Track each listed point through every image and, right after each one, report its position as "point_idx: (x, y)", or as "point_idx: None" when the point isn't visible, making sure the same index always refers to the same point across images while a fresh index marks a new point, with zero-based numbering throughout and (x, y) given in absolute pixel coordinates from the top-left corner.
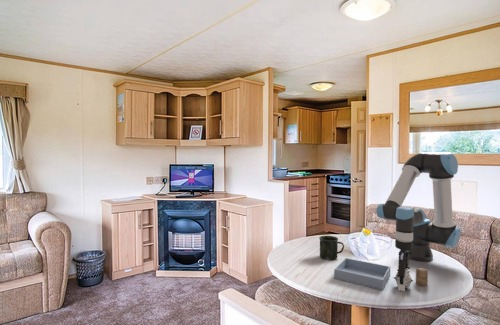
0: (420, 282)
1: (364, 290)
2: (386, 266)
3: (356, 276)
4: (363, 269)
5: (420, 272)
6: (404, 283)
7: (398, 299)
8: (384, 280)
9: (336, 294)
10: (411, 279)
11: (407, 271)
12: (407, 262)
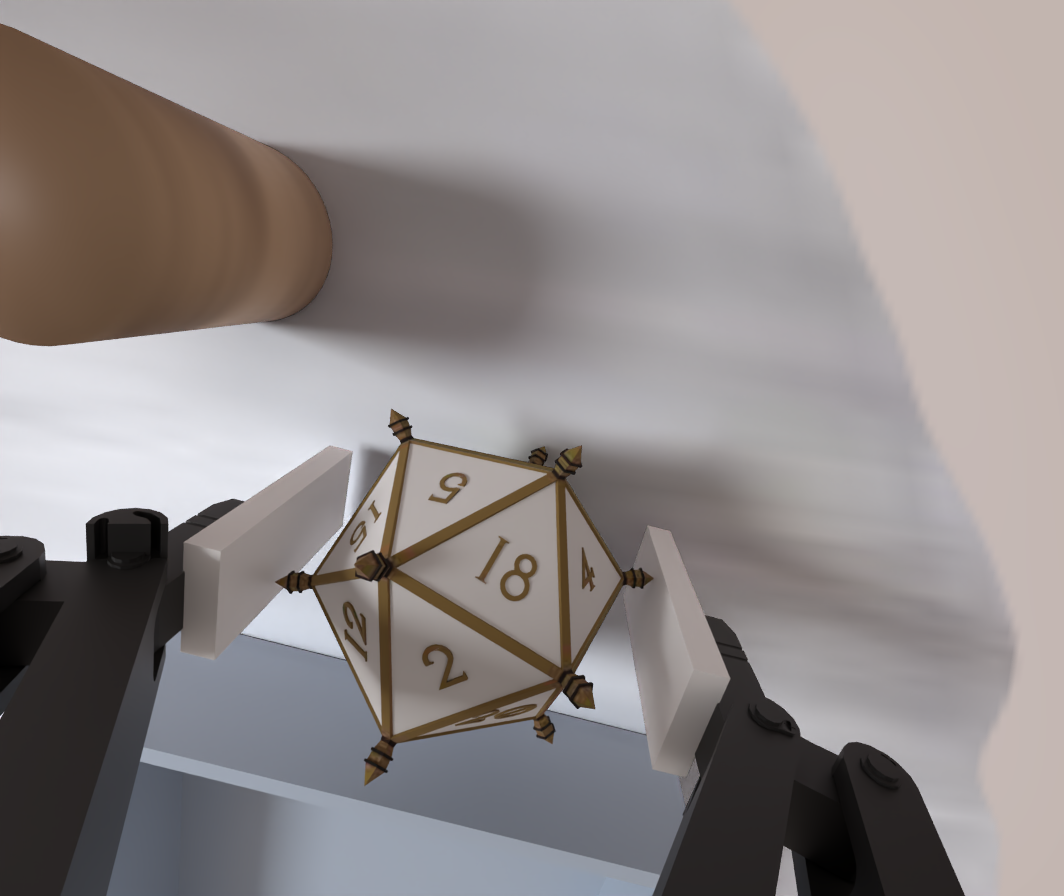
0: (301, 261)
1: None
2: None
3: None
4: (177, 879)
5: (165, 255)
6: (696, 601)
7: (887, 615)
8: (590, 810)
9: None
10: (538, 482)
11: (243, 538)
12: (85, 730)
